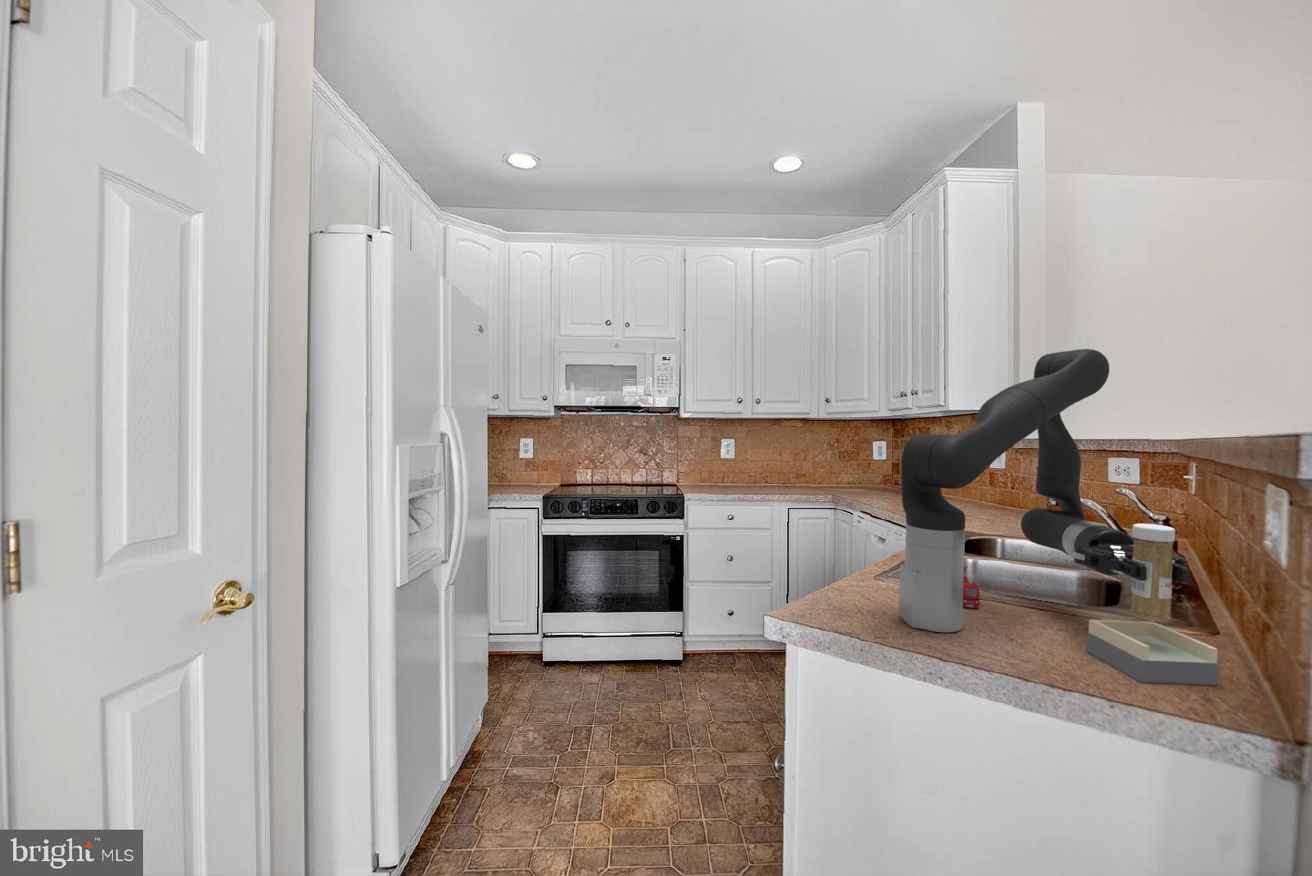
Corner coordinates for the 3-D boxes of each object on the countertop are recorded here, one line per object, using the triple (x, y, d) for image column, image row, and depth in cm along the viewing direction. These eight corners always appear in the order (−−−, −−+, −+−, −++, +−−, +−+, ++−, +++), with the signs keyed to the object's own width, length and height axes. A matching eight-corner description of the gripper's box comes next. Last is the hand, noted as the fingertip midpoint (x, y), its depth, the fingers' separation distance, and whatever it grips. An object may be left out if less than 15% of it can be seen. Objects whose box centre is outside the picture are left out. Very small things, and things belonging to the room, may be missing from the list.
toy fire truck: (962, 609, 103) (963, 558, 103) (939, 587, 116) (940, 543, 116) (981, 610, 102) (983, 559, 102) (956, 589, 116) (957, 544, 115)
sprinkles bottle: (1178, 624, 76) (1182, 530, 75) (1137, 620, 77) (1141, 527, 77) (1161, 613, 80) (1165, 523, 79) (1123, 609, 82) (1126, 521, 81)
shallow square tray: (1140, 682, 74) (1141, 645, 74) (1086, 651, 84) (1087, 619, 84) (1217, 685, 73) (1219, 648, 73) (1154, 653, 83) (1155, 621, 83)
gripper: (1050, 522, 94) (1106, 545, 77) (1148, 527, 90) (1228, 551, 74) (1049, 565, 94) (1104, 597, 78) (1147, 571, 91) (1226, 606, 74)
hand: (1164, 574), depth 76 cm, fingers closed on sprinkles bottle, 4 cm apart
